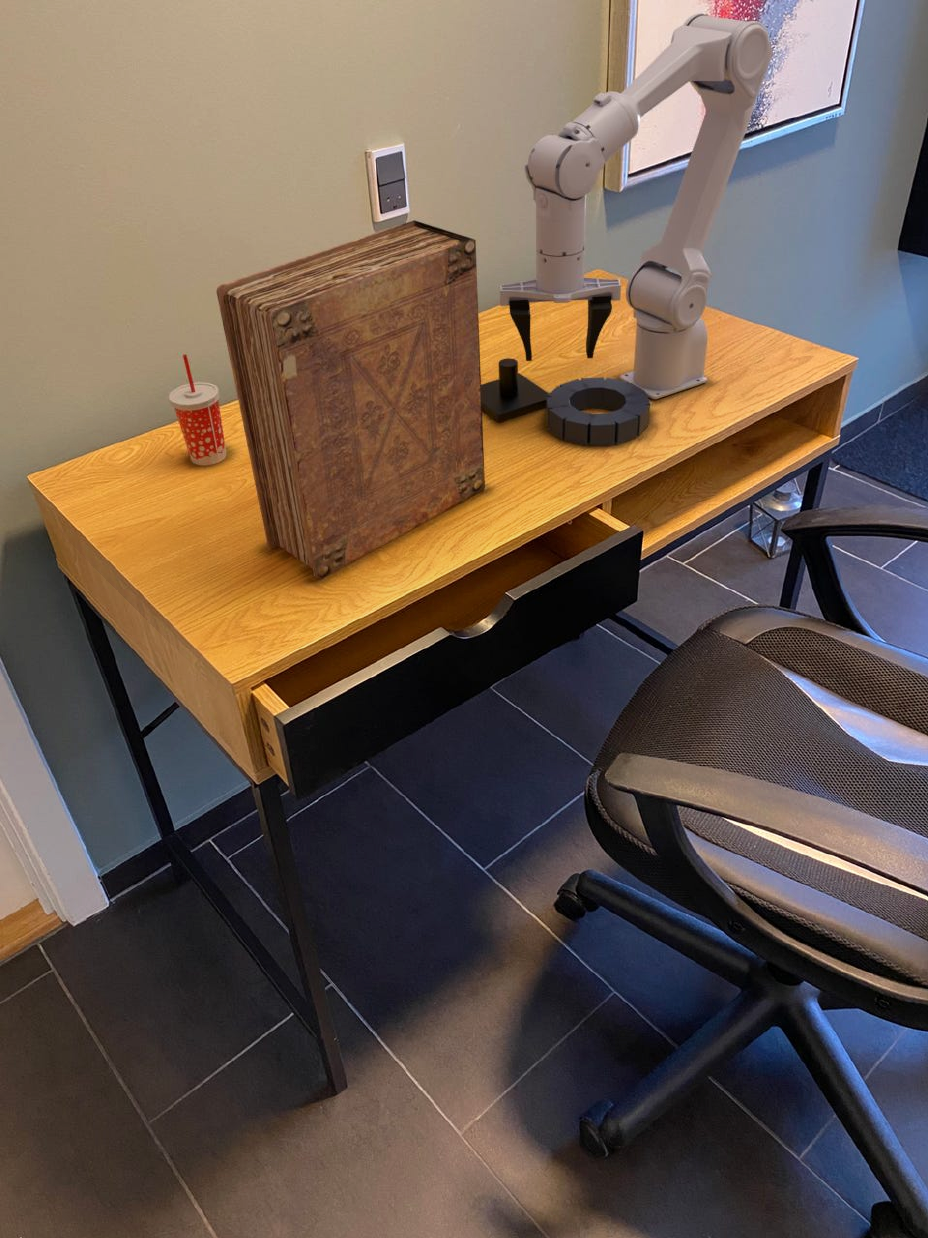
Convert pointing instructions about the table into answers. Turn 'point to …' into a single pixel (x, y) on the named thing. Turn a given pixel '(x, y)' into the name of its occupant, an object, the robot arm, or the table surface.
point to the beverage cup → (200, 420)
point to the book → (359, 389)
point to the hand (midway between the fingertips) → (559, 356)
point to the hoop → (597, 427)
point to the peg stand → (511, 393)
